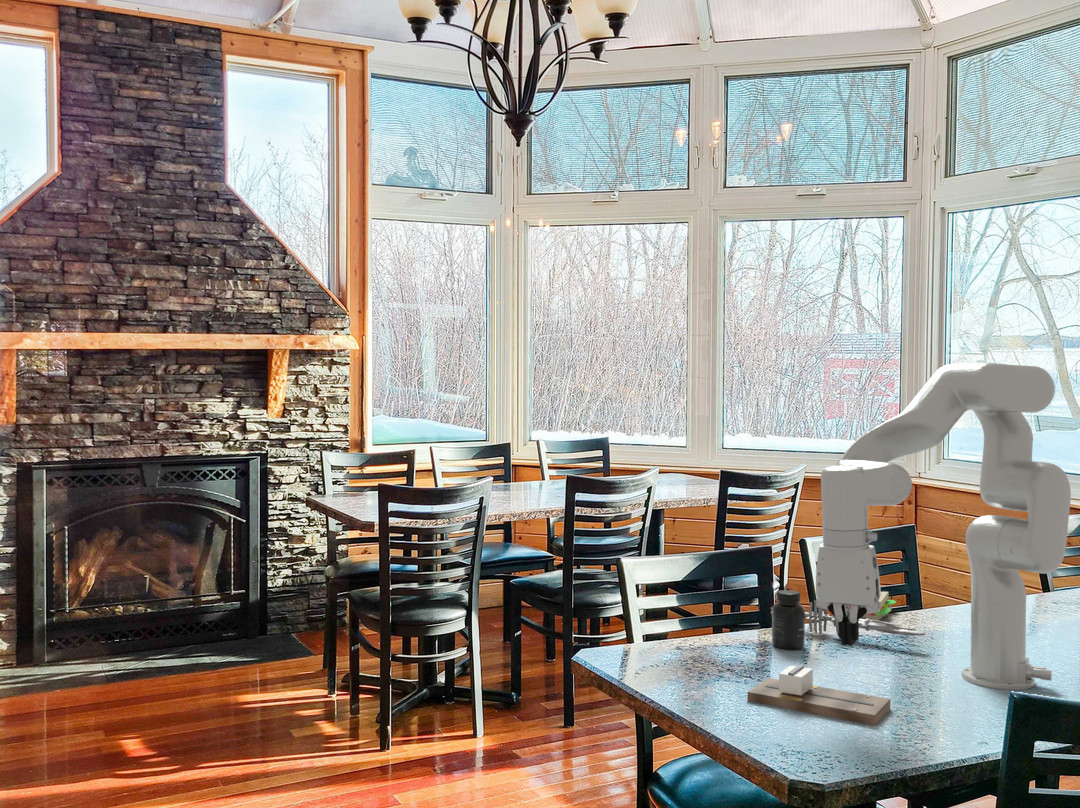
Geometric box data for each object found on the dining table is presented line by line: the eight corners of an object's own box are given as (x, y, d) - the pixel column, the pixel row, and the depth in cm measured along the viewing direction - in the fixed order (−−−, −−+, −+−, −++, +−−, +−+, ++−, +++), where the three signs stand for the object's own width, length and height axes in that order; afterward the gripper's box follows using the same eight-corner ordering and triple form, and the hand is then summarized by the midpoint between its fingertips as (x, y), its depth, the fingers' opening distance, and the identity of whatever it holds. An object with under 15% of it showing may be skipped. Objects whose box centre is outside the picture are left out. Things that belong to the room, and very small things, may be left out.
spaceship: (918, 656, 201) (919, 618, 201) (764, 629, 223) (764, 595, 223) (931, 648, 207) (931, 611, 207) (779, 623, 230) (779, 590, 229)
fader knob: (812, 686, 172) (812, 666, 172) (801, 695, 168) (801, 674, 167) (790, 683, 175) (790, 663, 175) (779, 691, 170) (779, 671, 170)
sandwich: (832, 602, 254) (832, 583, 254) (906, 613, 241) (906, 593, 241) (805, 612, 243) (805, 592, 243) (881, 624, 230) (881, 603, 230)
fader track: (890, 710, 167) (890, 698, 167) (874, 727, 159) (874, 714, 159) (767, 688, 179) (767, 677, 179) (747, 703, 171) (747, 691, 171)
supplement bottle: (808, 651, 204) (808, 595, 204) (775, 651, 205) (775, 595, 204) (800, 643, 211) (800, 588, 211) (768, 643, 211) (768, 588, 211)
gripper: (896, 537, 165) (899, 643, 166) (809, 531, 173) (813, 633, 174) (884, 544, 159) (888, 655, 160) (795, 539, 167) (799, 644, 168)
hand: (849, 643), depth 167 cm, fingers closed
